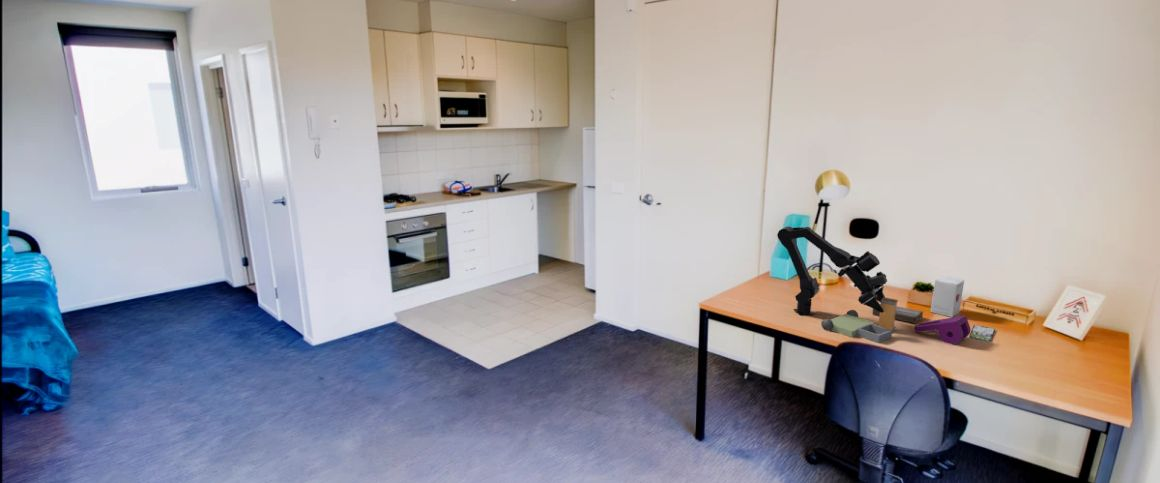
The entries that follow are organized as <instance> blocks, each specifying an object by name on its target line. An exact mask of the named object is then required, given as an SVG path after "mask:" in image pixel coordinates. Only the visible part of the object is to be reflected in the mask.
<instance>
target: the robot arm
mask: <svg viewBox="0 0 1160 483" xmlns="http://www.w3.org/2000/svg"><path fill="white" fill-rule="evenodd" d="M776 237H777V239H778V240H779V242H780V244H781V245H782V246H783V247H784V248H785V249H786V250H787V253H788V256H789V257H790V260H791V262H792V266H793V267H794V269H795V272H796V274H797V277H798V279H799V289H800V291H799V292H798V293H797V294H796V295H795V296H794V298H795V300H796V302H797V304H796V308H793V311H794V312H795V313H797V315H799V316H809V315H811V316H813V315H814V312H812V311H811V310H812V300H813V298H814V297H815V296H816V295H817V294H818V293H819V292H820V284H819V283H818V280H817V277H812V276H811V275H810V272H809V270H808V268H807V266H806V263H805V261H804V259H803V256H802V254H801V251H800V249H799V247H798V242H797V241H798V239H802V238H804V239H806V240H807V241H809V242H810V243H811V244H812V245H813V246H815V247H817V248H818V249H819V250H820V251H822V252H823V253H824V254H825V255H826V256H827V257H828V259H829V260H830V261H831V262H832V263H833V264H834V265H835V266H836V267H837V268H839V269H840V277H843V276H844V275H846V276H847V277H848V278H849V279H850V281H851V282H852V283H853V287H854V288H857V289H858V290H859V291H860V296H858V300H857V301H858V302H859V303H860V305H863V306H866V307H869V308H871V309H872V310H873V309H875V310H877V311H879V312H881V313H883V312H884V310H883V309H882V307H881V305H880V304H881V303H880V302H881V300H882V299H883V297H884V298H886V297H885V294H884V288H885V287H884V285H885V284H887V282H888V279H887V274H885V273H883V272H882V271H878V272H876V275H874V276H870V275H869V274H867V275H866V274H865V272H866V273H869V272H870V271H872V270H873V269H874V268H876V267H878V266H879V265H880V263H881V262H880V260H879V259H878V257H877V256H876V255H875V254H873V253H872V252H870V251H869V250H867V251H865V252H864V253H863V254H862V255H861V256H857V255H851V253H850V252H848V251H846V250H845V249H842V248H839V247H836V246H835V245H833V244H832V243H830V242H829V241H828V240H826V239H825V238H823V237H822V236H821V235H820V234H818V233H817V232H815V231H814V230H813V229H812V228H811V227H809V226H803V227H800V226H799V227H792V226H788V225H787V226H785V227H783V228H781V229H780V230H779V231H777V236H776Z"/></svg>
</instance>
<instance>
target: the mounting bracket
mask: <svg viewBox="0 0 1160 483" xmlns="http://www.w3.org/2000/svg"><path fill="white" fill-rule="evenodd" d="M913 329H914V331H915V333H922V332H930V331H937V334H938V336H939V338H940V339H941V341H942V342H943V343H945V344H950V345H957V344H958V343H959V342H961V341H962V340H964V339H965V338H967V337H969V335H970V333H971V330H972V328H971V325H970V323H969V320H968V318H967V315H961V316H953V317H947V318H941V319H935V320H934V319H933V320H928V321H924V322H920V323H916V324H914V325H913Z"/></svg>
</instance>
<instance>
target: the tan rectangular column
mask: <svg viewBox="0 0 1160 483" xmlns="http://www.w3.org/2000/svg"><path fill="white" fill-rule="evenodd" d="M898 302H899V300H898V299H896V298H888V297H885V298H884V297H883V299H882V300H881V302H879V304H881V307H882V309H883V310H884V312H883V313H881V312H880V315H879V316H878V325H877V326H880V327H883V328H886V329H889V330H892V334H893V332H894V331H895V329H896V326H895V321H896V319H895V314H896V307H898V306H897V304H898Z"/></svg>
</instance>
